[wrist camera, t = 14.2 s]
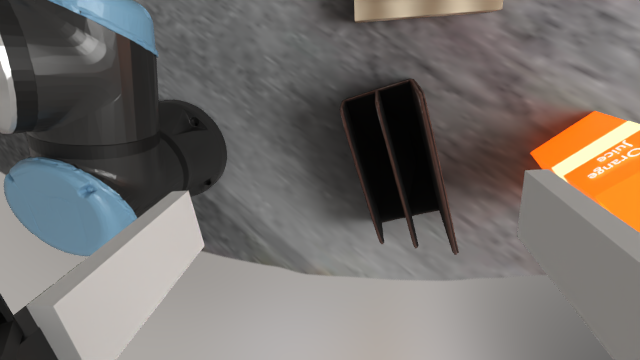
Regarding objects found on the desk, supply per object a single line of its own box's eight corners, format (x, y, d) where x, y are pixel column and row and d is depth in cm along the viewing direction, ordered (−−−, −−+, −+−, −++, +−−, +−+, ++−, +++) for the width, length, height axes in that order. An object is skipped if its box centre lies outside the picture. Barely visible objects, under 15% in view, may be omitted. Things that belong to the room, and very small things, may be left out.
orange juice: (624, 154, 44) (806, 234, 25) (558, 192, 47) (679, 288, 29) (594, 109, 42) (765, 160, 24) (528, 152, 45) (634, 226, 27)
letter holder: (413, 76, 44) (430, 91, 31) (442, 206, 50) (466, 262, 37) (341, 99, 46) (330, 121, 33) (378, 220, 53) (380, 277, 40)
